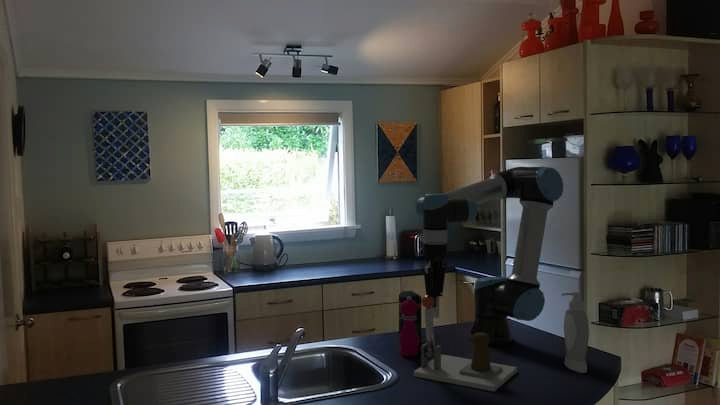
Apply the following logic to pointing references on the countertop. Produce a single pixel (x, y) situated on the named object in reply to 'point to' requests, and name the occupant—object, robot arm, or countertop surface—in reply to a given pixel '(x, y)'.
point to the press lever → (429, 325)
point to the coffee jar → (417, 299)
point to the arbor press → (462, 371)
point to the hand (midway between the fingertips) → (434, 316)
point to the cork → (480, 353)
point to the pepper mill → (409, 328)
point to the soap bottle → (576, 334)
